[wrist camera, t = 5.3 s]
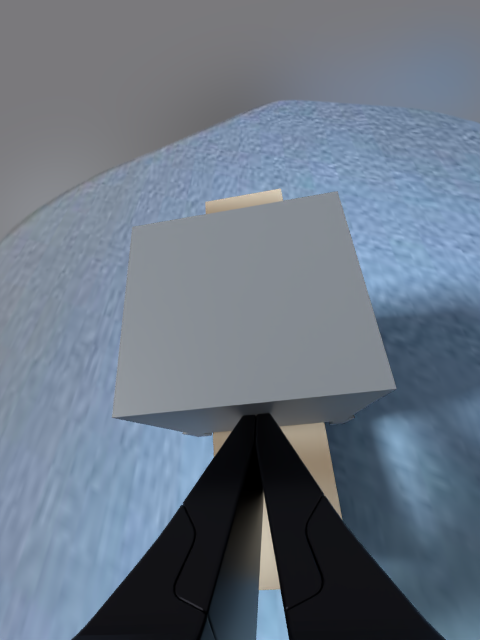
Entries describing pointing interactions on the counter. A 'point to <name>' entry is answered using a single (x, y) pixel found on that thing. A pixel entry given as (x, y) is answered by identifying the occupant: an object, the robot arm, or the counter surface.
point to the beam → (302, 437)
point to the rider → (248, 321)
